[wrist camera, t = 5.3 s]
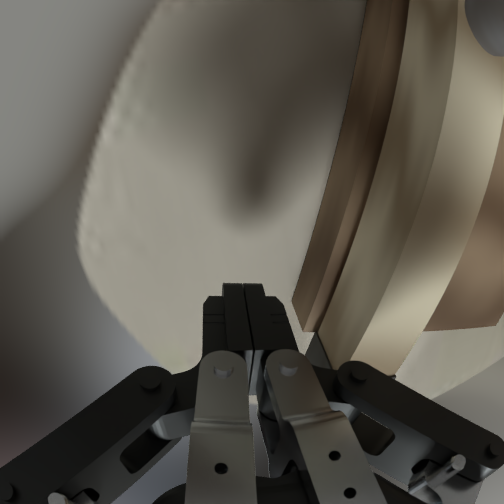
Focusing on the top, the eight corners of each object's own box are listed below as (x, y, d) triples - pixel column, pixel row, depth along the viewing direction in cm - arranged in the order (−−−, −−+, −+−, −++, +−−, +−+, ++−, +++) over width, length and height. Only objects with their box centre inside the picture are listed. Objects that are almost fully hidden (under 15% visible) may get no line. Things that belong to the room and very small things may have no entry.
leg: (406, -21, 6) (477, -47, 3) (460, 15, 7) (532, 9, 3) (304, 353, 14) (329, 424, 10) (357, 352, 15) (388, 415, 11)
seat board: (370, -25, 8) (444, -65, 3) (544, 111, 12) (599, 130, 7) (291, 301, 16) (323, 387, 11) (479, 308, 20) (518, 352, 14)
